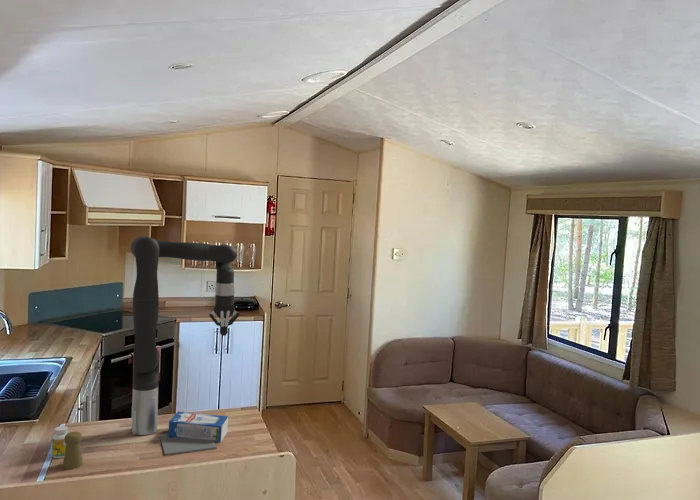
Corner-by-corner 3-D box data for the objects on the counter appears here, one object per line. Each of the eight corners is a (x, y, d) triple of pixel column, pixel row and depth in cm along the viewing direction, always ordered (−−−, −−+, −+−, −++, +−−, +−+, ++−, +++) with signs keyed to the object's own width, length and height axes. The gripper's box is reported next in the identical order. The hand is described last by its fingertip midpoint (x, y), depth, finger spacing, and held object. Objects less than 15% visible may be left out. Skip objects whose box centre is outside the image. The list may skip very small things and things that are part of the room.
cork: (86, 461, 186) (86, 429, 186) (77, 469, 180) (78, 437, 180) (67, 460, 186) (68, 428, 185) (59, 469, 180) (59, 436, 179)
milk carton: (227, 431, 216) (177, 426, 217) (228, 416, 216) (178, 411, 217) (220, 442, 207) (167, 437, 207) (221, 426, 206) (169, 421, 207)
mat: (164, 455, 194) (164, 453, 194) (160, 437, 208) (160, 435, 208) (216, 448, 201) (216, 446, 201) (208, 431, 216) (208, 429, 216)
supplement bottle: (73, 453, 191) (73, 426, 191) (60, 460, 186) (60, 432, 186) (61, 450, 193) (62, 423, 193) (48, 456, 188) (48, 429, 188)
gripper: (238, 291, 231) (237, 332, 233) (206, 292, 226) (205, 334, 227) (242, 294, 224) (241, 336, 226) (209, 295, 219) (208, 338, 220)
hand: (223, 335), depth 226 cm, fingers closed
